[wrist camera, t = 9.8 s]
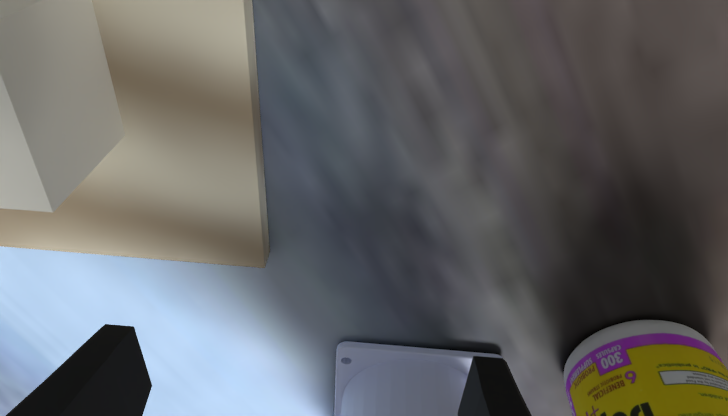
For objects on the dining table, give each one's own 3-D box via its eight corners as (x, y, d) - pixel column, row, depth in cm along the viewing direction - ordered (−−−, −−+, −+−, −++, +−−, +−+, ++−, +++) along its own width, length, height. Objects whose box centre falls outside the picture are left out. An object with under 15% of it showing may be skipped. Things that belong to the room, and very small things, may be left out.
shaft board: (269, 251, 22) (246, 324, 18) (-56, 225, 22) (-135, 292, 19) (234, -252, 12) (174, -285, 9) (-330, -288, 13) (-583, -332, 9)
